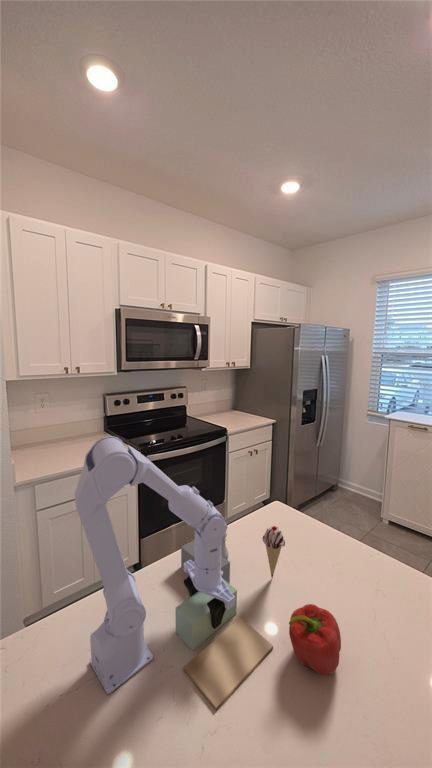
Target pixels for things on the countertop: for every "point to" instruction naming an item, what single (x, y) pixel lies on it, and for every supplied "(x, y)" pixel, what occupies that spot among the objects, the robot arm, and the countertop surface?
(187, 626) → the sage cover
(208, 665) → the cork trivet
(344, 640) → the countertop surface
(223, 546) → the rook chess piece
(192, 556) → the gray block
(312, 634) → the vegetable
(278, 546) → the ice cream cone
